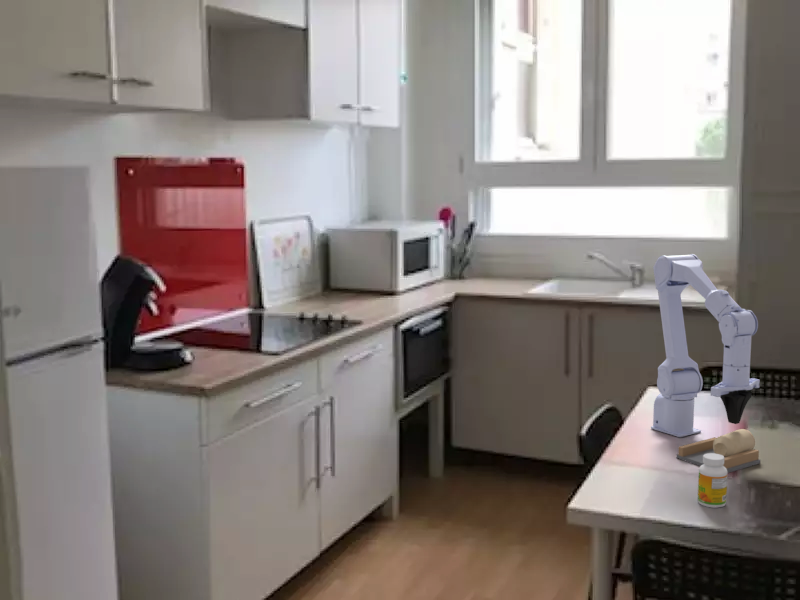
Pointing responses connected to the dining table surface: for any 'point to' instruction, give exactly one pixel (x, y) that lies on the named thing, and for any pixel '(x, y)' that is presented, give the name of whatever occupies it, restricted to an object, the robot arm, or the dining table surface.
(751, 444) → the candle
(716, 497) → the supplement bottle
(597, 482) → the dining table surface
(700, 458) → the tray
